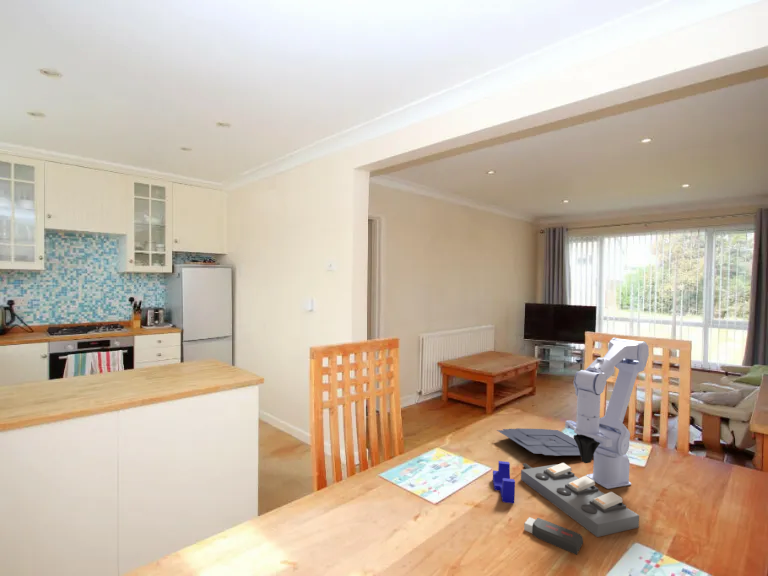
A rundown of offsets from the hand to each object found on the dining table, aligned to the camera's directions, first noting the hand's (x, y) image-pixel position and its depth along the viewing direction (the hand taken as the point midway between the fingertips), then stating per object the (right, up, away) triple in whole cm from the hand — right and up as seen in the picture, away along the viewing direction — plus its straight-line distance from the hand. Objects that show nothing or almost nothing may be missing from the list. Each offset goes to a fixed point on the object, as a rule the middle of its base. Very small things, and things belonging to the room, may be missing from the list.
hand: (586, 461), depth 114 cm
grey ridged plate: (+2, -9, +32) cm, 33 cm away
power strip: (-6, -9, 0) cm, 11 cm away
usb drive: (-17, -10, -19) cm, 28 cm away
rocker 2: (0, -5, -11) cm, 12 cm away
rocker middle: (-3, -5, -3) cm, 6 cm away
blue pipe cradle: (-23, -9, +1) cm, 25 cm away
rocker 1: (-5, -5, +5) cm, 9 cm away
